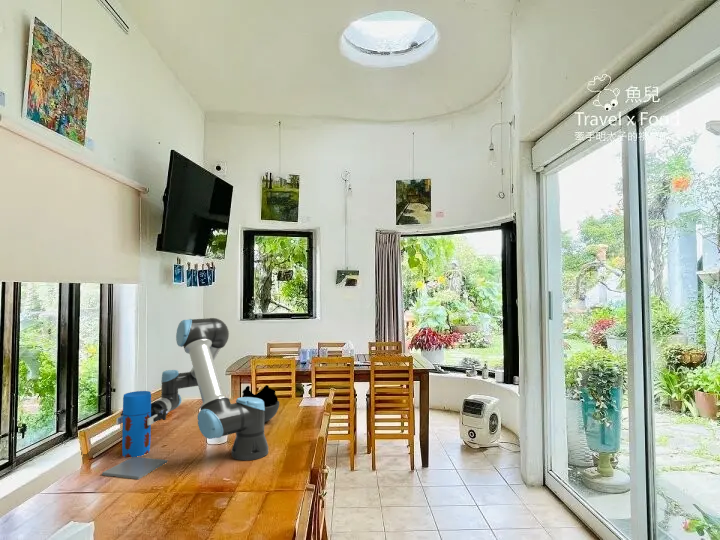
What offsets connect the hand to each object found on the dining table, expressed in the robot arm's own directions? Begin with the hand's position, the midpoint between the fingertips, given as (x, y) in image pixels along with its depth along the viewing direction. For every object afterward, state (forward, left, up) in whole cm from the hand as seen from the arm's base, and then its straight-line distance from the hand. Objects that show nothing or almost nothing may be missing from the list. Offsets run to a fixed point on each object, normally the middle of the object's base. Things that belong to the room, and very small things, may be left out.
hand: (132, 421), depth 183 cm
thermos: (0, -3, -14) cm, 14 cm away
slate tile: (-12, +11, -14) cm, 21 cm away
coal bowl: (-32, -54, -14) cm, 64 cm away
